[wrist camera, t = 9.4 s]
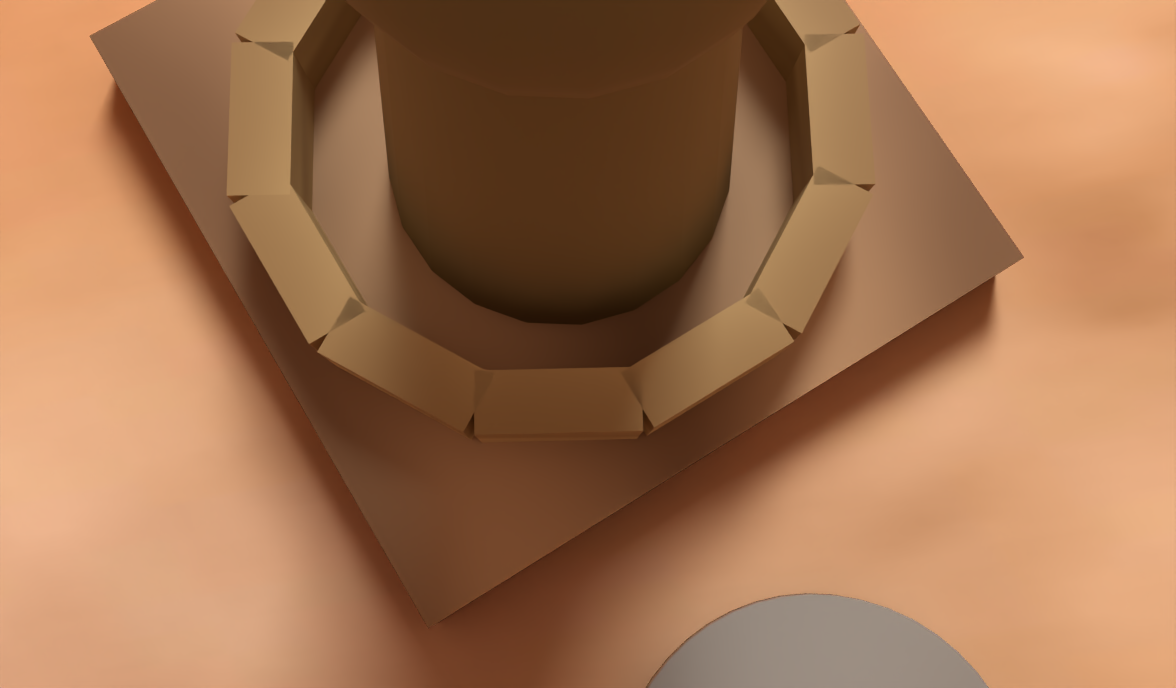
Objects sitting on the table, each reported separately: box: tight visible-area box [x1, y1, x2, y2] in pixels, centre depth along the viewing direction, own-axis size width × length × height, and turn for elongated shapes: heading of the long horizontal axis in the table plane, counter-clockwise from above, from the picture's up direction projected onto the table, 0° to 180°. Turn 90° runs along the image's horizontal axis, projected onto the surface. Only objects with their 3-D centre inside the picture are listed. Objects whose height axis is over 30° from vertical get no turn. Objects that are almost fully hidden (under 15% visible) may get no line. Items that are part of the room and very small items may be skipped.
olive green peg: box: [345, 0, 767, 325], centre depth 13 cm, size 6×6×11 cm
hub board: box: [90, 0, 1024, 628], centre depth 18 cm, size 12×12×3 cm
